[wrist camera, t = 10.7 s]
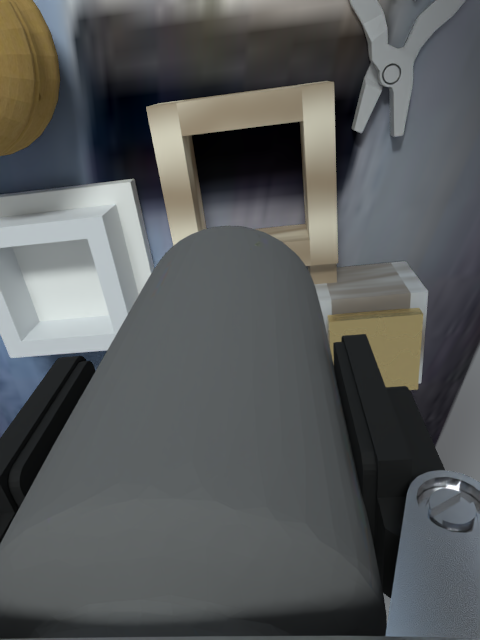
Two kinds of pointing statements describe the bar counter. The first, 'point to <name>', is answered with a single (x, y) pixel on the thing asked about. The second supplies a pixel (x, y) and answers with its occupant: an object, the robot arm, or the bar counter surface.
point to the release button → (386, 341)
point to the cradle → (70, 266)
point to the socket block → (318, 182)
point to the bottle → (201, 469)
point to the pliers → (394, 59)
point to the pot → (25, 75)
